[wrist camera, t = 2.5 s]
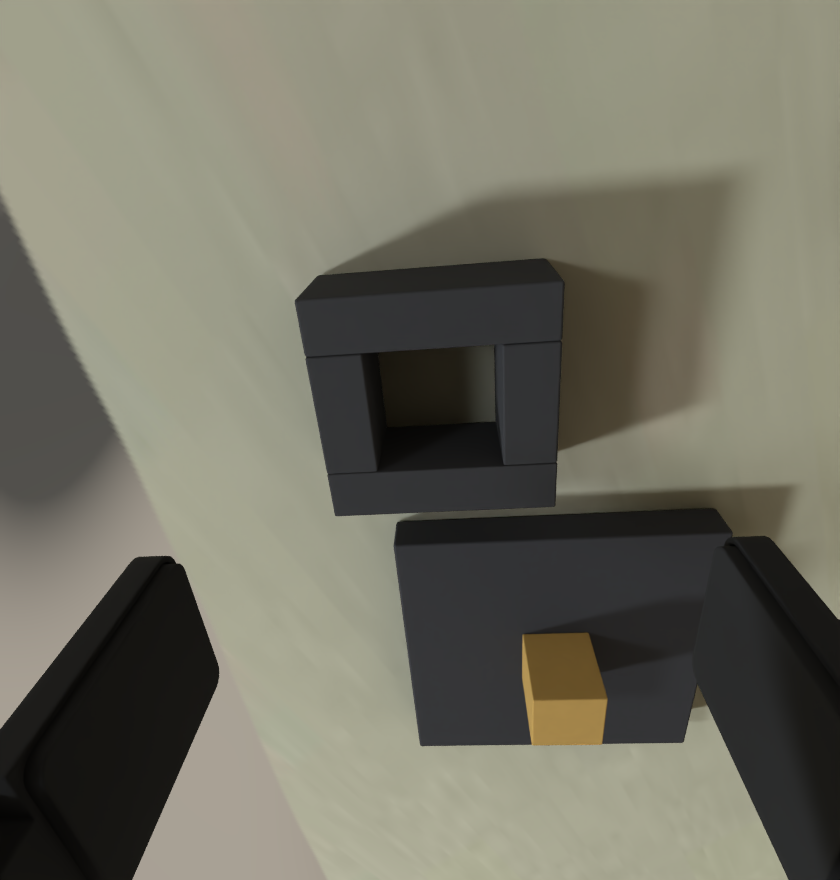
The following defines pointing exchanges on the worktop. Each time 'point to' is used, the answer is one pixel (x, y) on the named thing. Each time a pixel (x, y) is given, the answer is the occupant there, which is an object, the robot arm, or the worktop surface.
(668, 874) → the worktop surface
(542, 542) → the charcoal stud pad
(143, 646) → the robot arm
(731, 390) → the worktop surface
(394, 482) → the black hole pad
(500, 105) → the worktop surface
